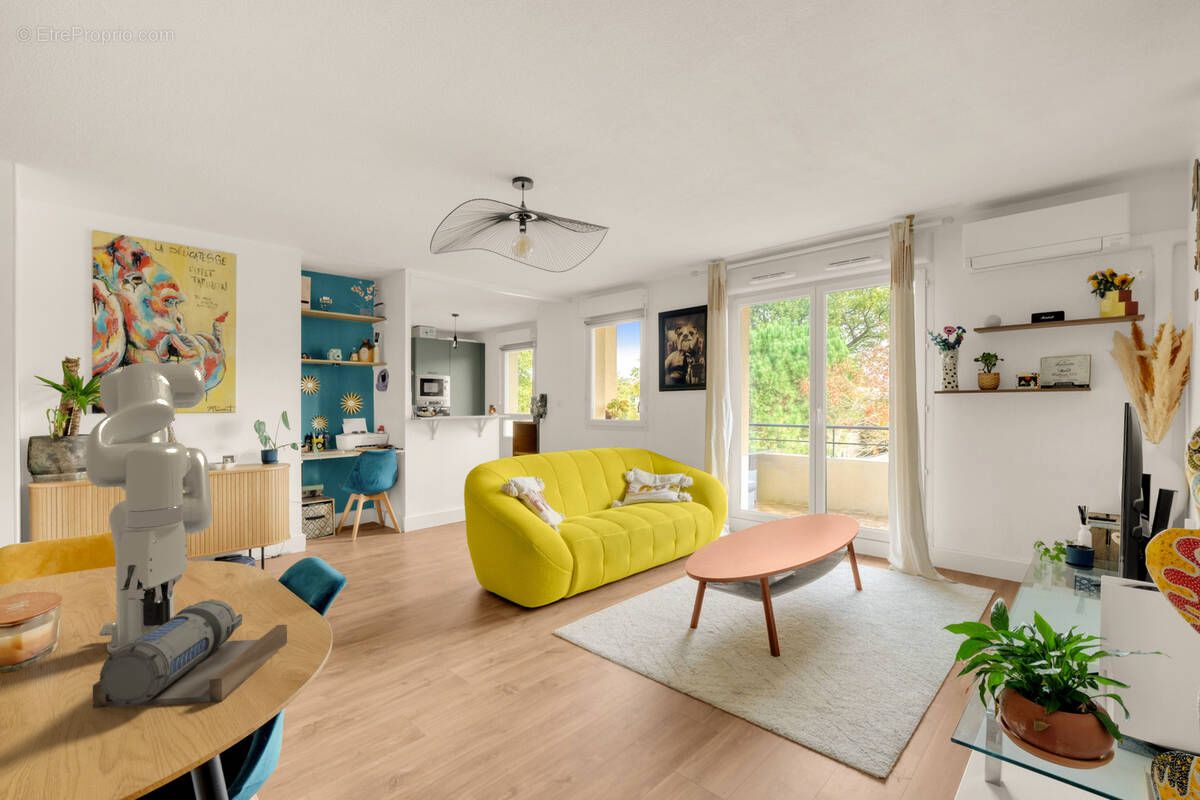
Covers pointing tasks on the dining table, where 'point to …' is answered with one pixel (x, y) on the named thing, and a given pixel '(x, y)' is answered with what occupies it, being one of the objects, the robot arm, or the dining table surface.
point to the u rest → (212, 673)
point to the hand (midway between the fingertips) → (156, 623)
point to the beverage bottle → (167, 652)
